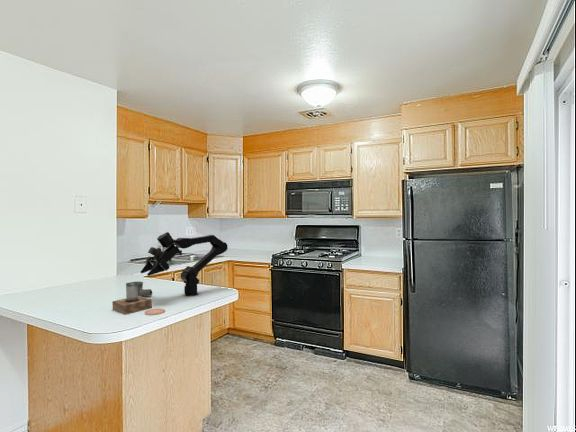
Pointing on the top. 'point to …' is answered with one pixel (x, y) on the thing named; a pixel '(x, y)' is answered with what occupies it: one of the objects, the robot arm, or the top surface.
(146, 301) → the housing
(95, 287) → the top surface
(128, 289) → the shiny metal cylinder
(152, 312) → the mat
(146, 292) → the pipe
